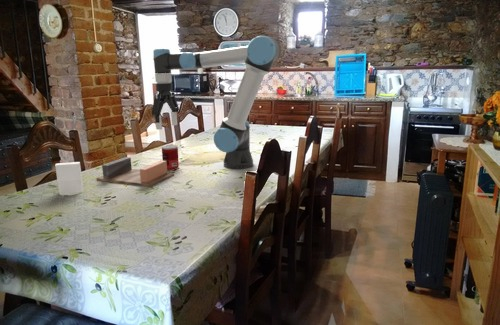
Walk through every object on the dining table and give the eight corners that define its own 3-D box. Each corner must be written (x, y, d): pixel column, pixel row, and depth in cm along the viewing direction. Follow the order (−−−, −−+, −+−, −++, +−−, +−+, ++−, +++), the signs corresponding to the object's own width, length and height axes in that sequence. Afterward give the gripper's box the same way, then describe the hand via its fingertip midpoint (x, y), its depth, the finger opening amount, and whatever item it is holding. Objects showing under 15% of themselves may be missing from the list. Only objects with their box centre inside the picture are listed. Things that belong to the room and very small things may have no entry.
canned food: (180, 166, 190) (179, 144, 187) (176, 170, 183) (174, 148, 180) (166, 165, 191) (164, 144, 188) (161, 169, 183) (159, 148, 180)
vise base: (174, 175, 174) (173, 160, 172) (151, 186, 158) (150, 171, 156) (123, 170, 184) (121, 156, 182) (96, 180, 167) (95, 165, 166)
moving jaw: (167, 172, 174) (166, 160, 172) (146, 182, 159) (145, 169, 158) (161, 172, 175) (160, 160, 173) (140, 182, 160) (139, 169, 159)
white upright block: (57, 196, 147) (52, 167, 144) (61, 189, 155) (57, 161, 152) (81, 194, 149) (78, 165, 146) (85, 187, 158) (81, 160, 155)
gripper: (171, 81, 189) (174, 123, 195) (141, 84, 167) (145, 131, 172) (184, 81, 187) (186, 123, 192) (155, 84, 164) (159, 131, 169)
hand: (167, 127), depth 182 cm, fingers open, 13 cm apart
